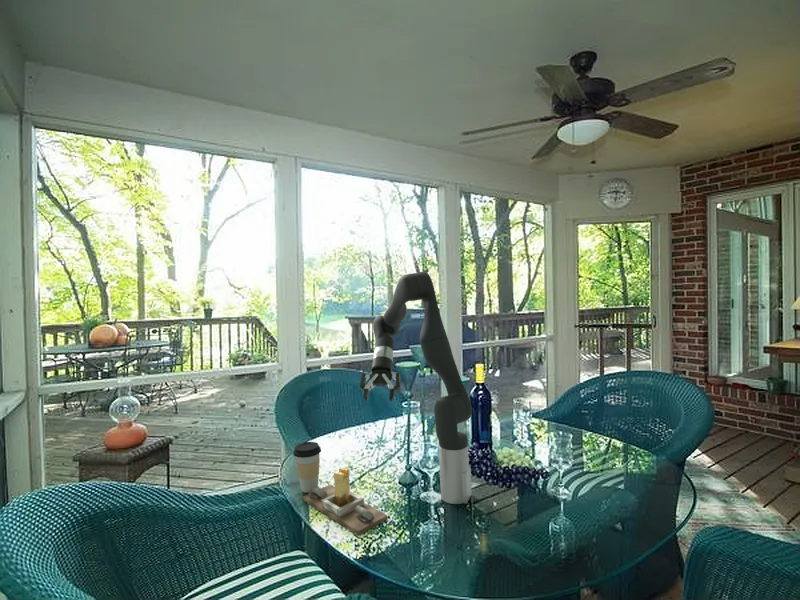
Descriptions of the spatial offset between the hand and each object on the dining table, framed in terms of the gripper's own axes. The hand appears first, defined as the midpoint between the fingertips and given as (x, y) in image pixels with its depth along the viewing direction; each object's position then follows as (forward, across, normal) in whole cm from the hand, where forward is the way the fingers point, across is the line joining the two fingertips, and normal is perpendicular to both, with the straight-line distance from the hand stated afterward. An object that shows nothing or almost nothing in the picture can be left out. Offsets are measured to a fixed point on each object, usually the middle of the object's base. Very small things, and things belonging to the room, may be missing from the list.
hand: (378, 400), depth 157 cm
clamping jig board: (+34, -9, +6) cm, 36 cm away
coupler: (+33, -9, +5) cm, 35 cm away
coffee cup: (+26, -24, +15) cm, 38 cm away
